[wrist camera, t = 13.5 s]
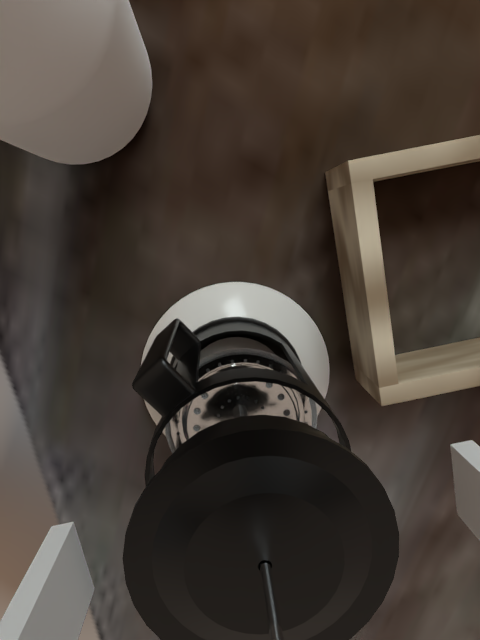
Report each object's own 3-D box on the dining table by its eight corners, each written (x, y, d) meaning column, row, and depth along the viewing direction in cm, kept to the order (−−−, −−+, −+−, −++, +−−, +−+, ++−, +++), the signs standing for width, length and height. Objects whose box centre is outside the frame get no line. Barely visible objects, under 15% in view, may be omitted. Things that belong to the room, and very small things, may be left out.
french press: (336, 391, 32) (647, 793, 9) (237, 477, 32) (299, 1041, 10) (222, 268, 29) (260, 397, 7) (119, 363, 30) (-147, 757, 8)
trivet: (121, 302, 30) (119, 304, 29) (311, 264, 30) (313, 265, 30) (165, 476, 33) (164, 480, 32) (339, 439, 33) (342, 442, 32)
